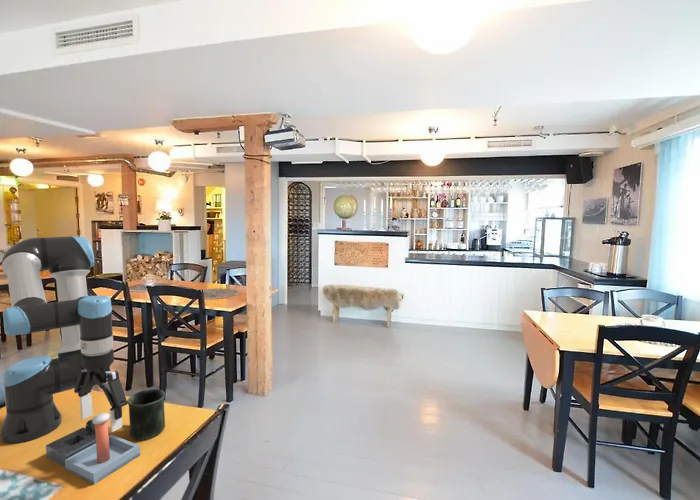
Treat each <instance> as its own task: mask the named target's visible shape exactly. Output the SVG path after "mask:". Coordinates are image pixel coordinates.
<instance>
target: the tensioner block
mask: <svg viewBox="0 0 700 500" xmlns="http://www.w3.org/2000/svg"><path fill="white" fill-rule="evenodd" d="M92 419H93V418H91V419H90V420H88V421H87V422H86V424H85V427H81V428H79V429H76V430H75V431H72V432H71V433H68V434H66V435H64V436H62V437H60V438H57V439H56V440H53V441H52V442H50V443H47V444H46V445H45V451H46V452H45V453H46V459H48V460H49V461H51V462H54V463H55V464H57V465H59V466H62V467H64V468H65V460H66V459H67V458H69V457H71V456H73V455H75V454H77V453H79V452H80V451H82V450H84V449H86V448H88V447H90V446H92V445H93V444H95V443H96V434H95V424H93V421H92Z"/></svg>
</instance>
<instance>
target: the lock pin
mask: <svg viewBox="0 0 700 500" xmlns="http://www.w3.org/2000/svg"><path fill="white" fill-rule="evenodd" d="M91 419H92V421H93V424H95V434H96V449H97V462H98V463H104V462H106V461H108V460H109V459H110V452H109V436H110V435H109V420H110V413H108V412H104V413H99V414H96V415H94V416H93V417H92V418H91Z"/></svg>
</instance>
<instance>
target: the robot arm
mask: <svg viewBox="0 0 700 500" xmlns="http://www.w3.org/2000/svg"><path fill="white" fill-rule="evenodd" d="M94 266H95V254H94V250H93V246H92V245H91V242H90V241H89V239H88V238H86V237H84V236H73V235H70V236H50V237H49V236H47V237H46V236H45V237H39V236H38V237H31V238H27V239H23V240H21V241H18V242H17V243H14V245H12V246H11V247H10V248H8V250H7V251H6V252H5V253H4V254H3V256H2V259H1V269H2V271H3V273H4V274H5V275H6V276H7V283H8V292H9V299H10V305H11V306H10V307H7V308H5V309H4V310H3V311H2V318H3V328H4V330H3V331H4V334H5V335H7V336H9V337H10V336H11V337H12V336H18V335H19V336H20V335H28V334H33V333H39V332H44V331H51V330H55V329H57V330H58V329H60V332H61V341H62V343H61V344H62V347H61V348H60V349H59V350H58V351H57V357H56V358H51V356H49V355H46V354H45V355H44V354H43V355H35V356H33V357H32V356H31V357H29V358H25V359H22V360H20V361H18V362H16V363H13V364H12V365H10V366H8V367H7V368H6V369H5V371H4V373H3V383H2V385H3V387H4V396H5V397H4V398H5V410H6V414H5V417H4V419H3V423H2V427H1V429H0V440H1V441H2V442H3V443H5V444H16V443H17V444H19V443H23V442H24V443H25V442H28V441H32V440H35V439H38V438H40V437H43V436H45V435H47V434H48V435H49V434H50V433H51V432H53V431H54V430H56V429H57V428H59V427H60V425H61V424H62V414H61V412H60V410H59V409H58V407H57V405H56V403H55V401H54V395H55V394H58V393H59V394H60V393H63V392H66V391H70V390H74V391H73V392H74V394H77V395H78V397H79V401H80V402H79V403H80V405H79V406H80V416H81V420H85V419H87V418H89V417H92V416H93V415H94V414H93V413H94V412H93V399H92V398H93V397H92V396H93V395H92V392H93V391H92V389H93V387H94V386H95V385H97V387H99V389H101V390H102V391H103V393H104V395H105V397H106V399H107V401H108V402H109V405H110V407H111V408H109V417H110V418H109V420H110V431H111V432H112V433H113V432H115V431H116V430H119V429H121V428H123V407H125V406H127V405H128V403H127V400H128V399H127V397H126V395H125V392H124V388H123V385H122V383H121V382H122V381H121V380H120V375H119V371H118V370H114V371H112V370H111V368H110V367H111V365H112V364H113V363H114V362H115V353H114V352H115V351H114V335H113V316H112V315H113V312H112V311H113V306H112V301H111V297H109V296H107V295H103V294H102V295H88V287H87V284H88V283H87V277H86V276H87V275H88V274H89V273H91V268H92V267H94ZM40 271H49V276H51V277H52V278H53V279H55V281H56V283H55V284H56V291H57V292H56V293H57V301H54V302H52V301H51V302H47V299H46V293H45V291H44V284H43V282H42V278H41V273H40Z"/></svg>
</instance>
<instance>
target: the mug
mask: <svg viewBox="0 0 700 500" xmlns="http://www.w3.org/2000/svg"><path fill="white" fill-rule="evenodd" d="M165 396H166V393H165V391H164V390H162V389H159V388H153V389H151V388H150V389H144V390H142V391H138V392H136V393H134V394H131V396H129V397H128V398H127V399H126V400H127V405H128V415H129V419H128V420H129V435H130V437H131V438H132V439H134V440H136V441H137V440H138V441H143V440H148V439H153V438H155V437H156V436H159V435H160V434H161V433H163V431H164V429H165V427H166V418H165Z"/></svg>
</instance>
